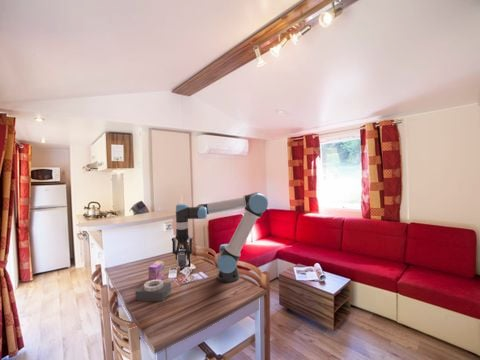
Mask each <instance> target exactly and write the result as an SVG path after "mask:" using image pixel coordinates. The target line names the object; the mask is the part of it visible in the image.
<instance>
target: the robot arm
mask: <svg viewBox="0 0 480 360" xmlns="http://www.w3.org/2000/svg"><path fill="white" fill-rule="evenodd" d="M267 198H268V197H266V196H265V195H264V194H263V193H261V192H254V193H250V194H245V195H243V197H242V196H241V197H236V198H232V199H224V200H220V201H214V202H208V203H201V204H198V205H196V206H189V205H188V203H178V204H176V205H175V229H176V230H175V237H172V238H171V242H172V244H171V245H172V255H175V261H176V265H177V266H179V254H178V253H179V250H181V249H180V248H181V245H182V244H183V246H184V248H185V249H184V250H186V253H187V254H186V266H188V265H189V260H190V255H191V254H193V240H194V237H191V236H189V220H203V219H207V217H208V215H211V214H217V213H224V212H229V211H234V210H242V209H244V214H243V215H242V218H241V220H240V222H239V223H238V225H237V227H236V229H235V231H234V233H233V235H232V237H231V238H230V241H229V242H228V243H224V244H220V246H219V254H218V259H217V262H216V263H217V268H218V273H217V280H218V281H220V282H223V283H233V282H236V281H238V280H239V279H240V272H239V269H238V266H237V265H238V264H237V263H238V262H239V259H240V257H241V250H242V249H243V246H244V244H245V242H246V240H247V239H248V237H249V235H250V233H251V232H252V230H253V228H254V225H255V224H256V222H257V220H258V219H261V217H262V216H263V213H264V212H266V210H267V209H268V206H269V201H268V199H267ZM188 241H189V242H188ZM176 242H177V243H176Z"/></svg>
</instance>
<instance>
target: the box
mask: <svg viewBox="0 0 480 360" xmlns="http://www.w3.org/2000/svg"><path fill="white" fill-rule="evenodd" d="M156 279H157V280H162V281H163V279H165V262H164V261H162V260H156V261H155V262H154V263H152V264H150V265H148V281H151V280H156Z"/></svg>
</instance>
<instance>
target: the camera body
mask: <svg viewBox="0 0 480 360" xmlns="http://www.w3.org/2000/svg"><path fill="white" fill-rule="evenodd" d="M170 292H172V283H171V282H164V281H163V279H162V280H157V279H156V280H151V281H149V280H148V281H145V282H144V284H142V285H141V286H140V287H139V288H138V289H136V290H135V300H136V301H146V302H164V301H165V299H166V298H167V297H168V295H169V294H170Z"/></svg>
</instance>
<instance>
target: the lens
mask: <svg viewBox="0 0 480 360" xmlns="http://www.w3.org/2000/svg"><path fill="white" fill-rule="evenodd" d="M178 254H179V265H178V267H180V268H181V267H186V266H187V265H186V254H187V253H186V249H179V253H178Z"/></svg>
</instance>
